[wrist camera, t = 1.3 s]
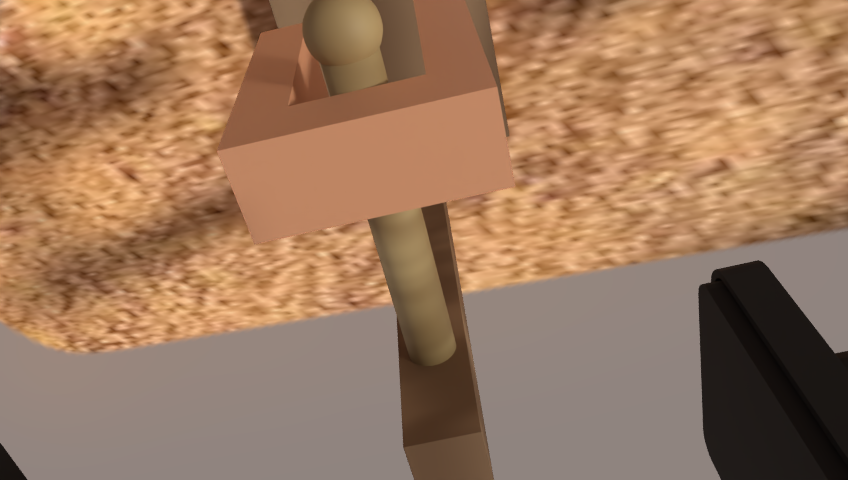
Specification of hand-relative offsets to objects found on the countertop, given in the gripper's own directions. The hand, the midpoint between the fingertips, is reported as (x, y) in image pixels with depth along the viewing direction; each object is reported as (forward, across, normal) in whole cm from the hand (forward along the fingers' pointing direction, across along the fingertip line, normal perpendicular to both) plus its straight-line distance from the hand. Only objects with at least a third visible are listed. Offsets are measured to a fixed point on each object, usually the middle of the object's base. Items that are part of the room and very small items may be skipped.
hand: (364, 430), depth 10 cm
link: (+16, 0, 0) cm, 16 cm away
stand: (+28, 0, +3) cm, 28 cm away
